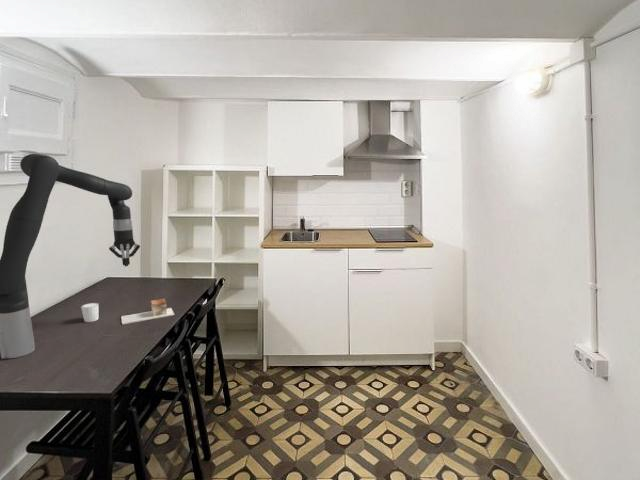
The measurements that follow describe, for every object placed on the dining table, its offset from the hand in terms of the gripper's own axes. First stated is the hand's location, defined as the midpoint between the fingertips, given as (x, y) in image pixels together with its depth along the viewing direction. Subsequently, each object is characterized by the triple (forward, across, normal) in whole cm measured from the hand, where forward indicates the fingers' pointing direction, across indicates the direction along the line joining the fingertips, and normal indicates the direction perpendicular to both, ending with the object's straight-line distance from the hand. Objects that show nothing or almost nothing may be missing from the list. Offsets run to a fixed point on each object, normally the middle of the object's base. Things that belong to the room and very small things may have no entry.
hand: (126, 265), depth 161 cm
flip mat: (+25, +7, -3) cm, 26 cm away
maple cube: (+18, +12, -3) cm, 22 cm away
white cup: (+25, -16, +6) cm, 30 cm away
